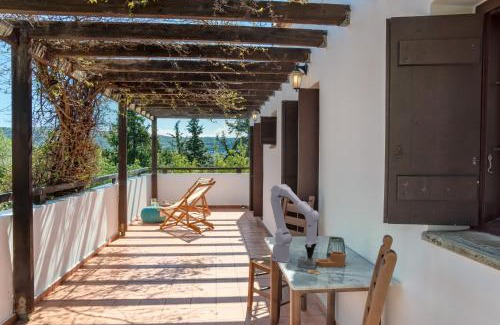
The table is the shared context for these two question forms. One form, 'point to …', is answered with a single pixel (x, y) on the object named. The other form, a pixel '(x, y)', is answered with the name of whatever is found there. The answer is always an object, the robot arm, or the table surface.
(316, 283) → the table surface
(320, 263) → the bracket
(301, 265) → the vise
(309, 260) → the slotted grey block
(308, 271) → the pad
